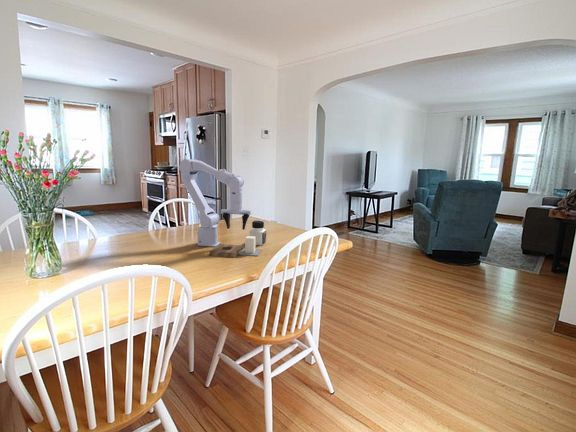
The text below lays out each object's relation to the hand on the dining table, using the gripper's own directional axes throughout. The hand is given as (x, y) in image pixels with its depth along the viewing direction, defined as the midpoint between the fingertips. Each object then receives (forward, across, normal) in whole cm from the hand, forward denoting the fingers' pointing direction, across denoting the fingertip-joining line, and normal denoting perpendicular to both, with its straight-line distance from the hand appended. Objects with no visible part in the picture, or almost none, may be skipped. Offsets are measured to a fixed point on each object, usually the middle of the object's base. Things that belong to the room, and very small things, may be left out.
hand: (236, 228), depth 155 cm
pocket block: (+9, -2, -9) cm, 13 cm away
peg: (+9, +9, -7) cm, 14 cm away
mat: (+9, +9, -7) cm, 15 cm away
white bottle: (+10, +9, +9) cm, 16 cm away
